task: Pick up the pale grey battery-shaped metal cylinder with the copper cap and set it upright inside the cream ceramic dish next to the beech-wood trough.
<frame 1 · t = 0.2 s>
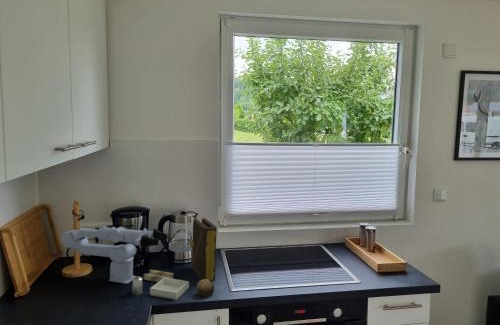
hand: (162, 239, 164), 21 cm above the worktop, fingers open, 7 cm apart
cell: (137, 293, 158), on the worktop
dish: (169, 291, 161), on the worktop
book: (202, 273, 183), on the worktop
mushroom: (205, 294, 160), on the worktop
trough: (158, 279, 173), on the worktop
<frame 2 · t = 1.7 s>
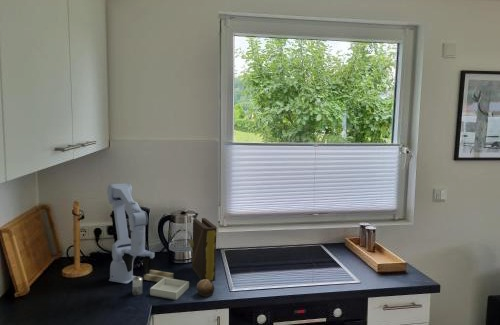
hand: (137, 272, 157), 9 cm above the worktop, fingers open, 7 cm apart
nothing on the worktop moved.
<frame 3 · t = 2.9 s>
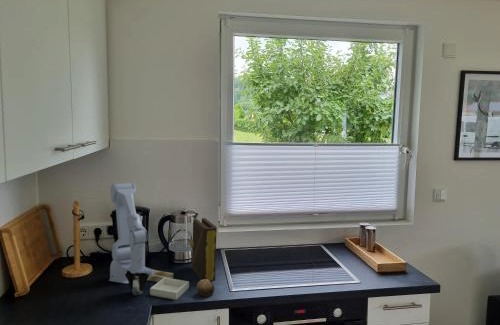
hand: (137, 289, 158), 2 cm above the worktop, fingers closed on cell, 4 cm apart
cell: (137, 293, 158), on the worktop, touching gripper
everything else where it was.
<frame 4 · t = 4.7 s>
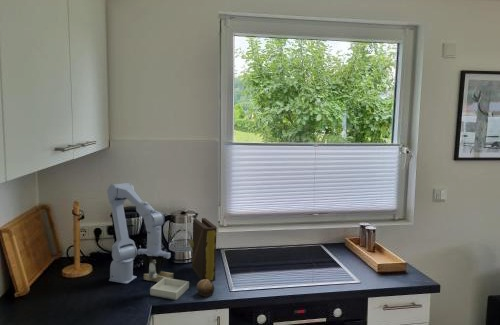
hand: (153, 272, 159), 9 cm above the worktop, fingers closed on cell, 4 cm apart
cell: (153, 276, 159), point 7 cm above the worktop, touching gripper
everything else where it was.
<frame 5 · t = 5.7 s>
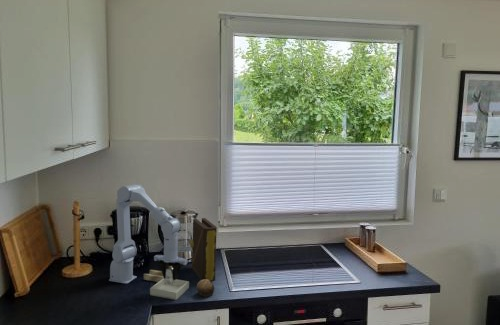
hand: (170, 278, 160), 6 cm above the worktop, fingers closed on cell, 4 cm apart
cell: (170, 282, 160), point 4 cm above the worktop, touching gripper
everything else where it was.
when the fingers open (4 cm above the worktop, at t = 6.4 s): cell drops 2 cm, resting on dish.
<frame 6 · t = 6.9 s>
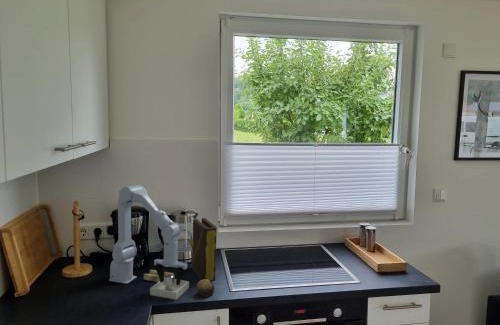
hand: (170, 282, 161), 4 cm above the worktop, fingers open, 7 cm apart
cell: (169, 290, 161), point 1 cm above the worktop, touching dish
everything else where it was.
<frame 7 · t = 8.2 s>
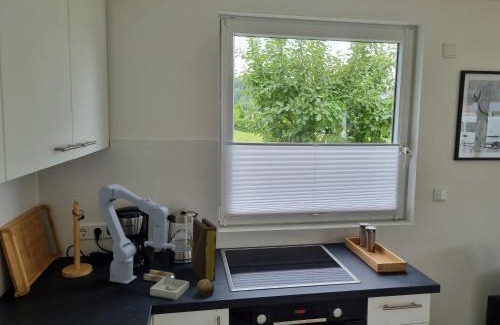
hand: (159, 263, 167), 9 cm above the worktop, fingers open, 7 cm apart
nothing on the worktop moved.
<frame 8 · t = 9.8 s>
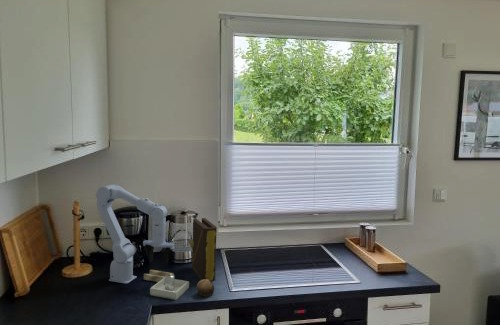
hand: (158, 262, 168), 9 cm above the worktop, fingers open, 7 cm apart
nothing on the worktop moved.
at the end: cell inside the target area on the dish (0.1 cm from its centre), point 0.7 cm above the dish's base; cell tilted 2°; the gripper is holding nothing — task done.
